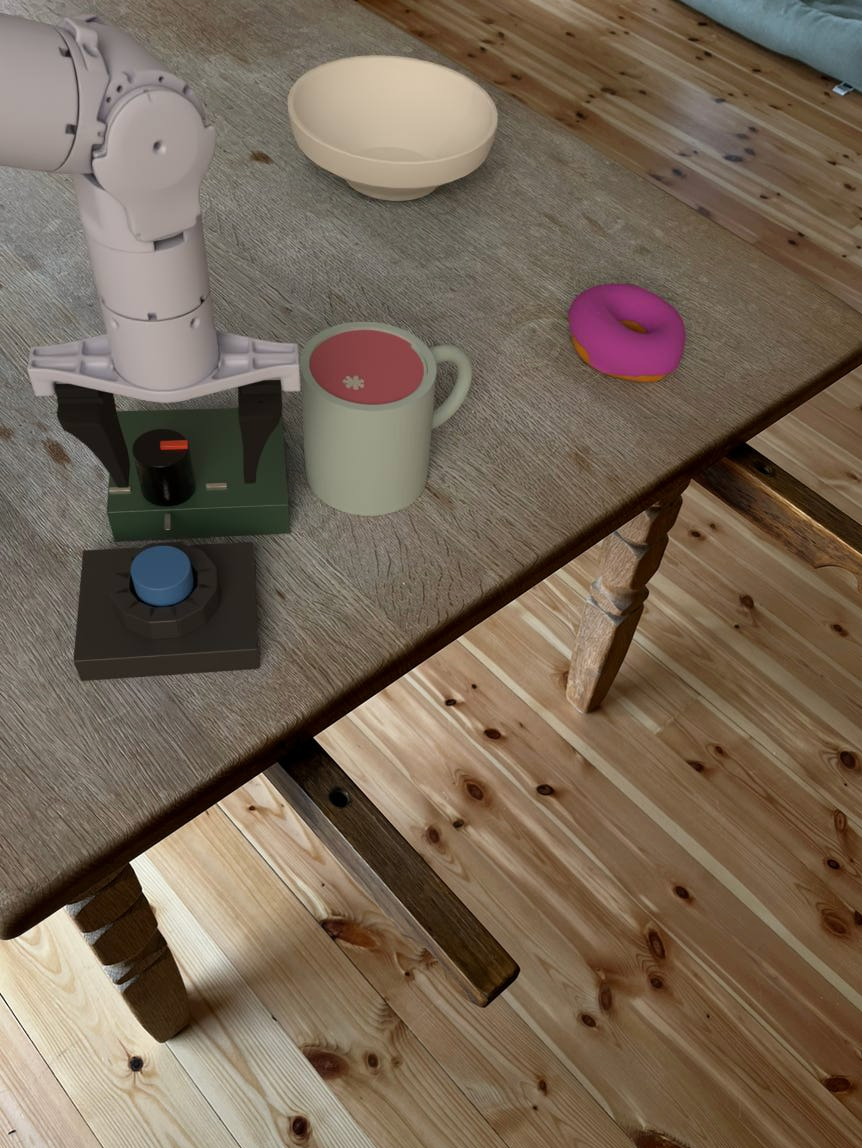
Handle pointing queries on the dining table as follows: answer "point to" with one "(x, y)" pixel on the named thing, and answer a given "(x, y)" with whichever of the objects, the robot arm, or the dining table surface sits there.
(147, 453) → the knob
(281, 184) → the dining table surface
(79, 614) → the button block
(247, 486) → the panel
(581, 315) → the donut
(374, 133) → the bowl
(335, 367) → the mug
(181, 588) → the plunger
